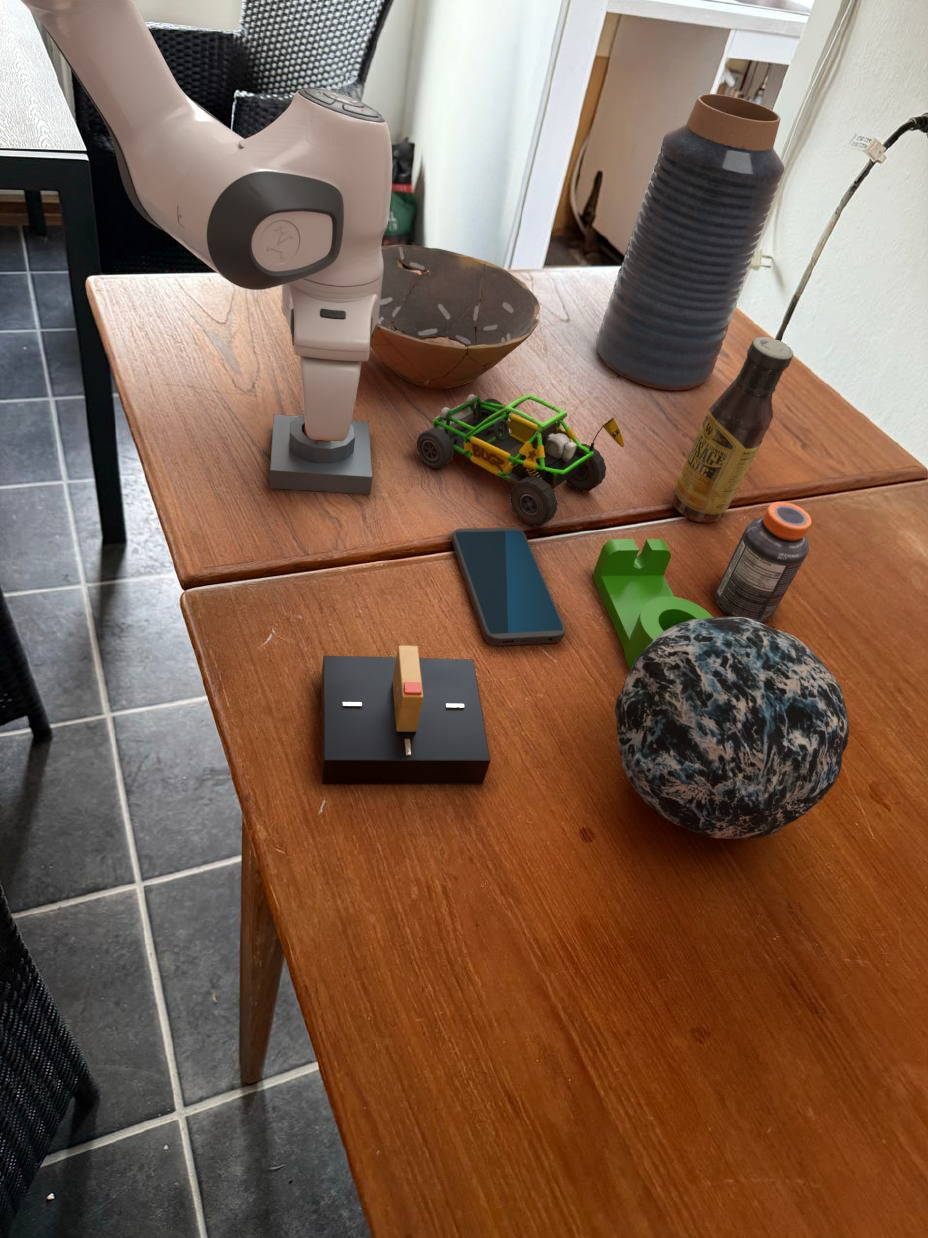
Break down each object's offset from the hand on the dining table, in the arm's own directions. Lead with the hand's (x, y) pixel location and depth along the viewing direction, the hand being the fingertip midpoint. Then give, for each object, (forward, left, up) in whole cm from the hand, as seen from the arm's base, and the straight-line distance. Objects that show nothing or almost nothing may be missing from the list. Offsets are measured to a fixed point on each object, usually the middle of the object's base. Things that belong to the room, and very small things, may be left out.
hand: (323, 427), depth 89 cm
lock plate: (+6, -35, -4) cm, 36 cm away
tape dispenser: (+30, -23, -4) cm, 38 cm away
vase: (+45, +29, -4) cm, 54 cm away
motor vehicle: (+20, 0, -4) cm, 20 cm away
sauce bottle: (+41, -4, -4) cm, 41 cm away
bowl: (+13, +22, -4) cm, 26 cm away
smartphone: (+17, -18, -4) cm, 25 cm away
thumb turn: (+6, -35, -1) cm, 36 cm away
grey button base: (0, 0, -4) cm, 4 cm away
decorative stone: (+29, -40, -4) cm, 50 cm away
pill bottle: (+41, -19, -4) cm, 45 cm away
